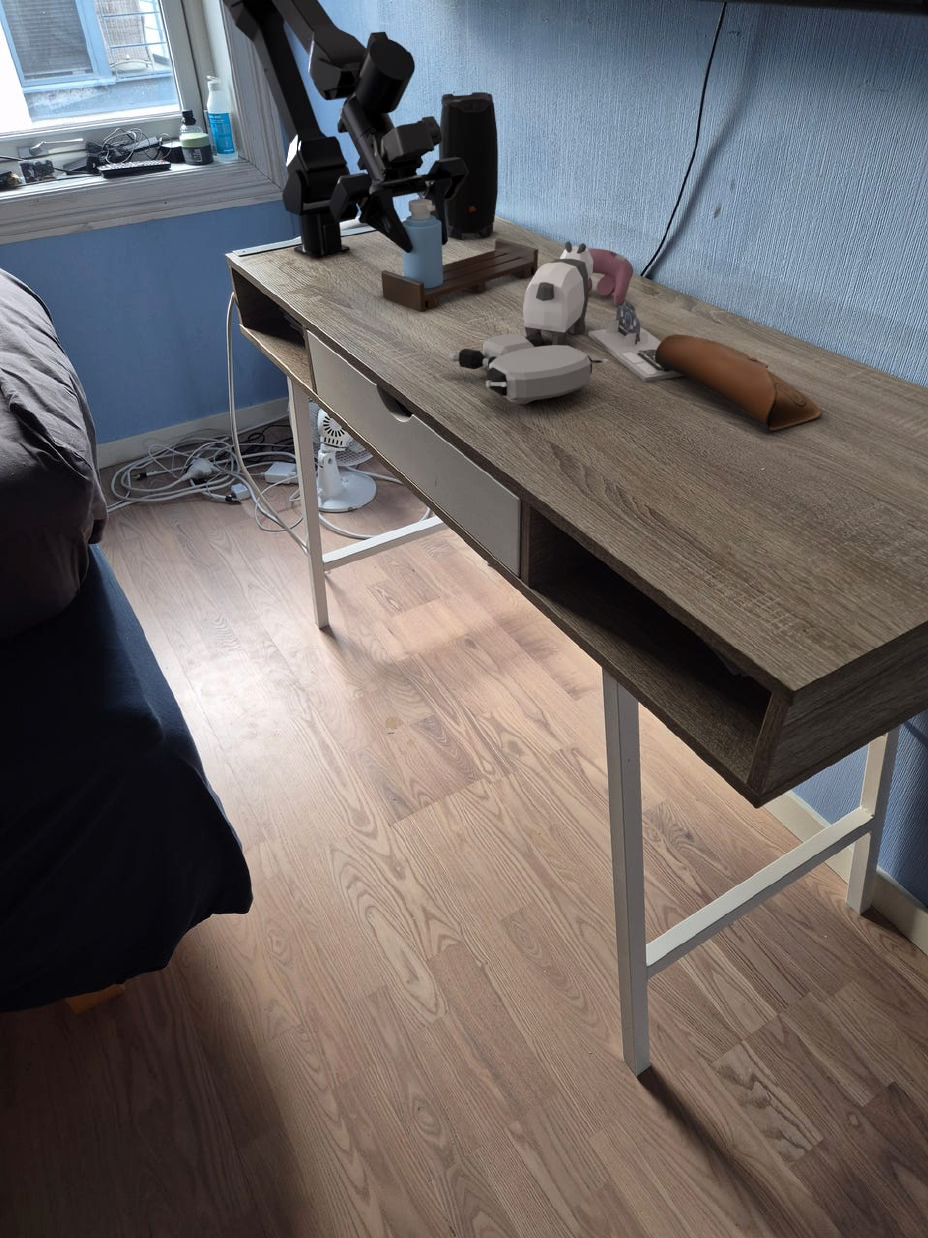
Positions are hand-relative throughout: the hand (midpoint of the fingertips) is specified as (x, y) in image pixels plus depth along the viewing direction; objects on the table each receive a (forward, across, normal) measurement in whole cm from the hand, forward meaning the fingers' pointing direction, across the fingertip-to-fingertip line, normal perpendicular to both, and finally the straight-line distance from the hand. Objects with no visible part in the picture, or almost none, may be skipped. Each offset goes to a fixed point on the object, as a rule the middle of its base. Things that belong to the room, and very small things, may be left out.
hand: (428, 247), depth 112 cm
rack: (+3, +7, +6) cm, 10 cm away
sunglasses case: (+36, +8, -27) cm, 46 cm away
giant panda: (+19, +5, -9) cm, 22 cm away
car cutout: (+27, +8, -17) cm, 33 cm away
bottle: (+2, 0, +4) cm, 5 cm away
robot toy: (+26, -8, -16) cm, 32 cm away
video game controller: (+14, +18, -4) cm, 23 cm away
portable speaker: (-11, +24, +21) cm, 34 cm away
